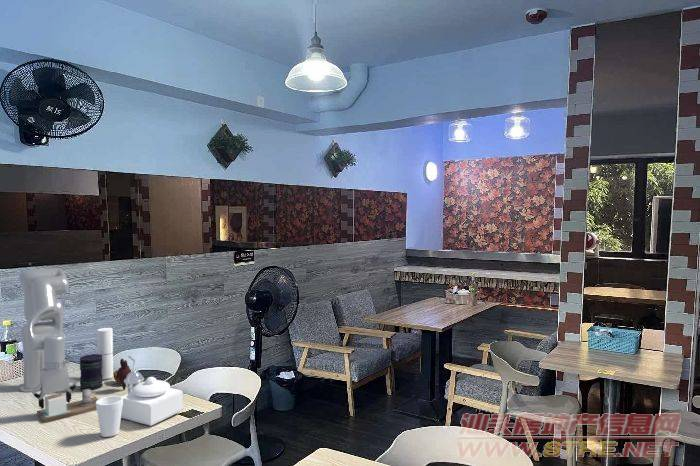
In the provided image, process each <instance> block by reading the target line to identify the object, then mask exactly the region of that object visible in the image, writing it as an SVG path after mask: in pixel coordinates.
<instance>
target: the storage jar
mask: <svg viewBox="0 0 700 466" xmlns="http://www.w3.org/2000/svg"><path fill="white" fill-rule="evenodd" d="M102 366H103V365H102V355H100V354H98V353H93V354H92V353H91V354H86V355H83V356H80V357H79V370H80V377H79V385H80V390H81V391H83V390H85V389H90V390H91V391H96V390H99V389H101V388H102V387H103V381H104V379H103V378H102V377H103V376H102Z"/></svg>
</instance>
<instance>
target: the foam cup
mask: <svg viewBox="0 0 700 466" xmlns="http://www.w3.org/2000/svg"><path fill="white" fill-rule="evenodd" d="M97 399H98V400H97V401H96V410H95V411H96V413H97V418H98V423H99V430H100V436H101V437H103V438H107V437H113V436H116V435H118V433H120V427H121V419H122V418H121V413H122V405H123V397H121V395H108V396H104V397H101V398H97Z"/></svg>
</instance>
